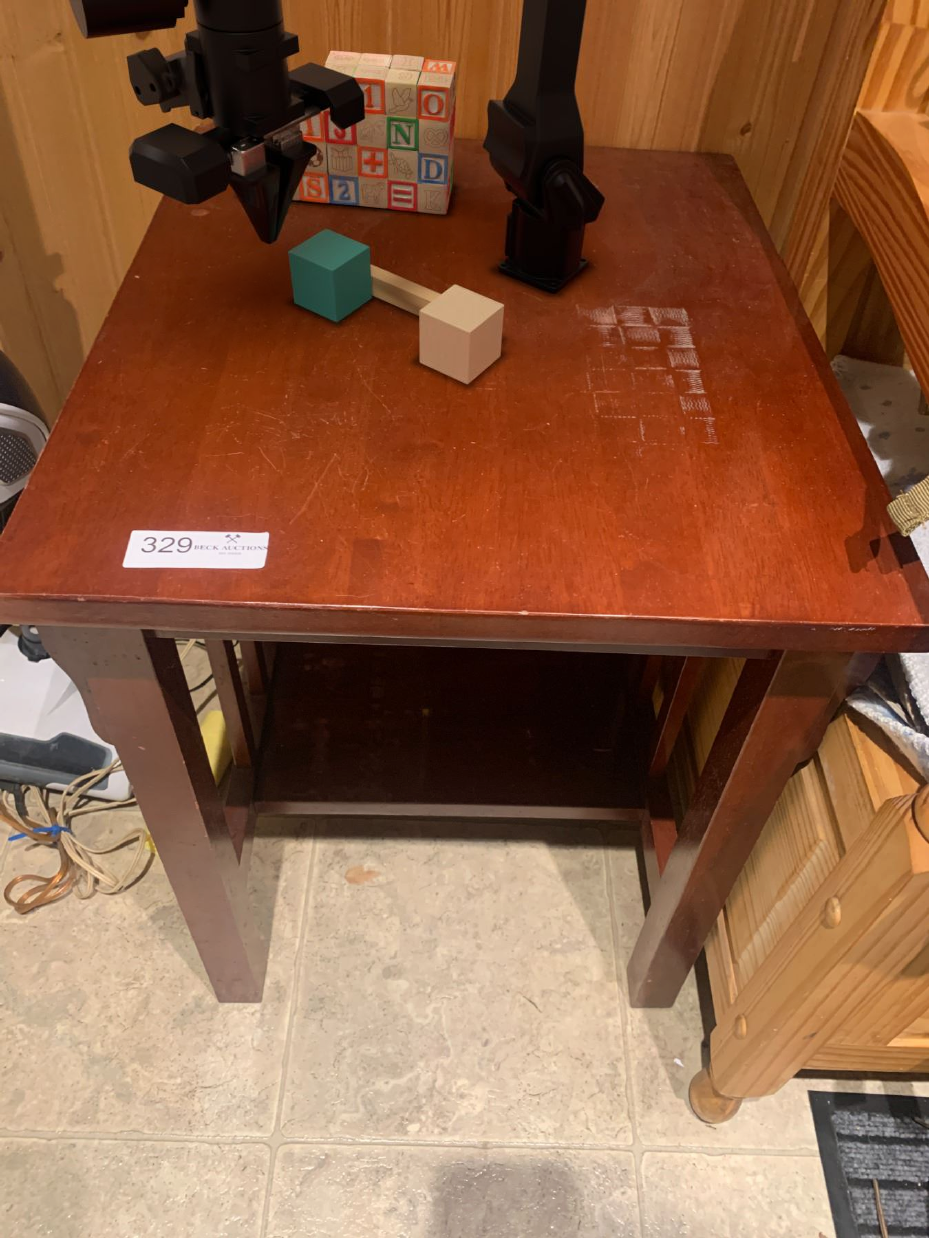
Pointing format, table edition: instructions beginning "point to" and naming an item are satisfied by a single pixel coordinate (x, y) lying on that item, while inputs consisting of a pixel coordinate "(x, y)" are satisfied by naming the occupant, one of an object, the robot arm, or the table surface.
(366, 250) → the teal block
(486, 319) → the cream block
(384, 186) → the stack of blocks
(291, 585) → the table surface
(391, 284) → the rail
